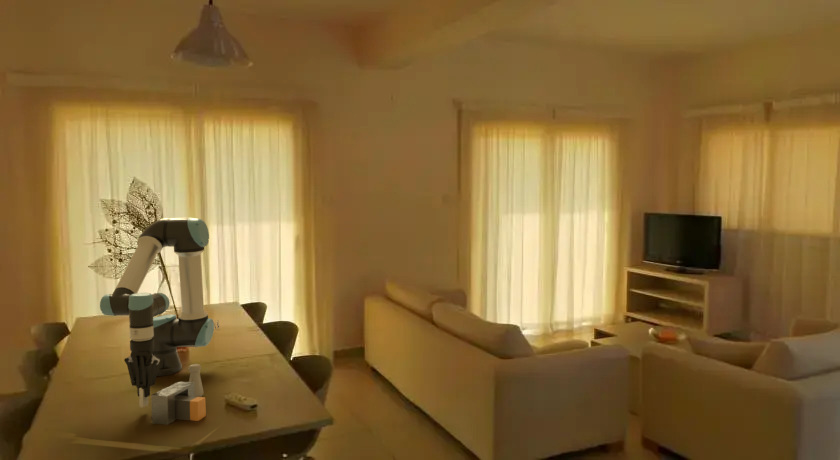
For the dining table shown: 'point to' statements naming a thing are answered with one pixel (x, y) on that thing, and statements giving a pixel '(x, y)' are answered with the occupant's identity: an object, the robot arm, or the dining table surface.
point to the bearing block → (169, 401)
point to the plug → (190, 407)
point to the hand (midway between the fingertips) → (144, 405)
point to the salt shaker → (196, 379)
